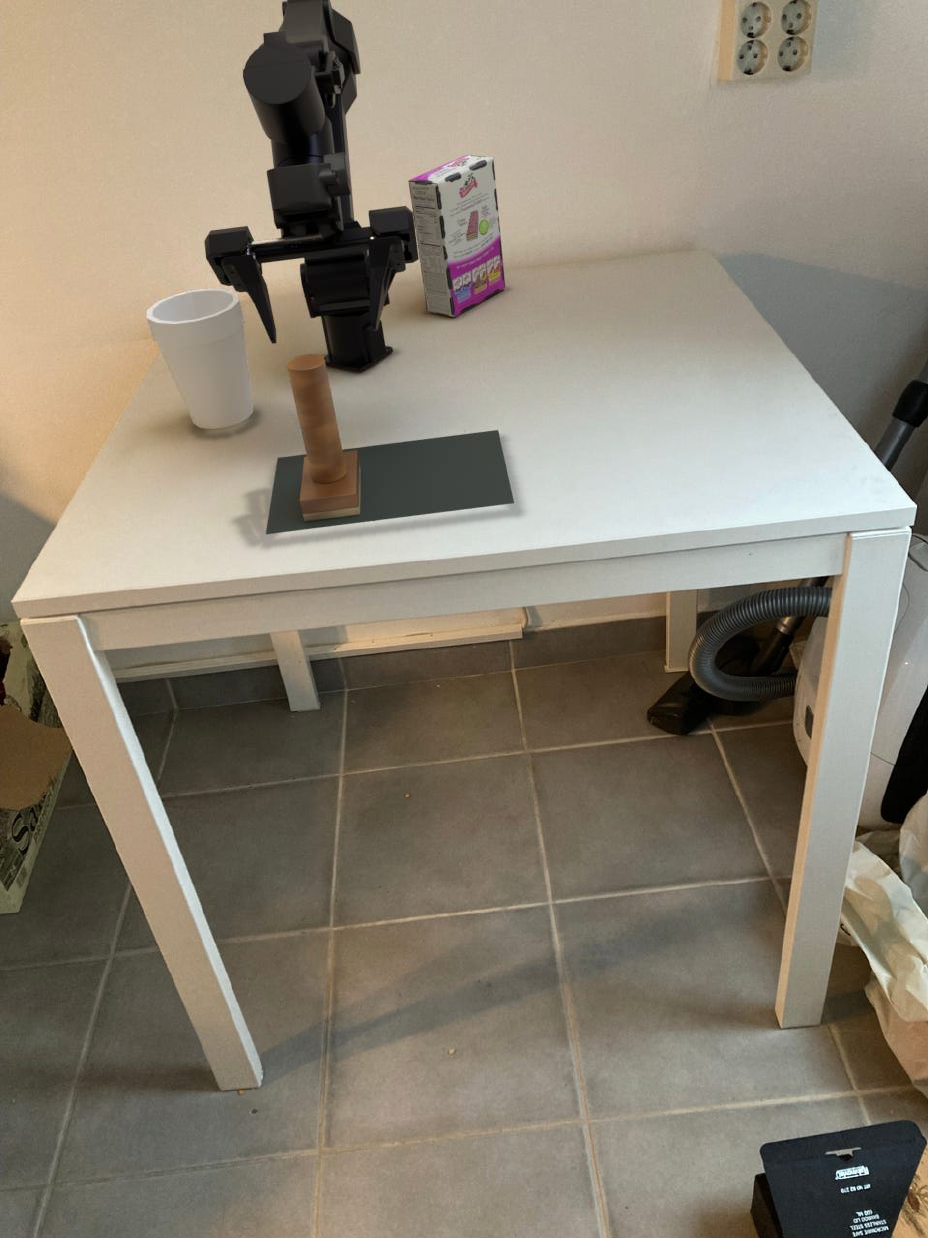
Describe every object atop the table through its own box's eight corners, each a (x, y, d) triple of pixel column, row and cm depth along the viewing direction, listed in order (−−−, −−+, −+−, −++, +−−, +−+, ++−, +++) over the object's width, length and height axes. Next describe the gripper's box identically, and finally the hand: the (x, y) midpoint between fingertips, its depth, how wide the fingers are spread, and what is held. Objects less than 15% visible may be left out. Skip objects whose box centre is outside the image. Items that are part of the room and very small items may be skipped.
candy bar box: (477, 283, 133) (464, 153, 123) (506, 289, 130) (496, 156, 120) (423, 313, 126) (406, 177, 116) (453, 319, 124) (438, 181, 114)
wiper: (304, 522, 87) (272, 385, 79) (308, 477, 93) (279, 346, 85) (360, 514, 87) (333, 377, 79) (360, 470, 93) (336, 339, 85)
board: (267, 543, 87) (265, 534, 86) (279, 466, 98) (277, 457, 97) (515, 512, 87) (514, 502, 86) (498, 438, 98) (498, 429, 97)
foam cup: (194, 452, 102) (157, 331, 94) (172, 419, 109) (136, 304, 101) (280, 424, 105) (251, 305, 97) (253, 395, 112) (224, 281, 104)
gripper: (178, 133, 82) (195, 310, 81) (399, 105, 82) (421, 281, 81) (214, 204, 94) (229, 361, 92) (409, 179, 93) (428, 336, 92)
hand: (323, 335), depth 89 cm, fingers open, 9 cm apart
